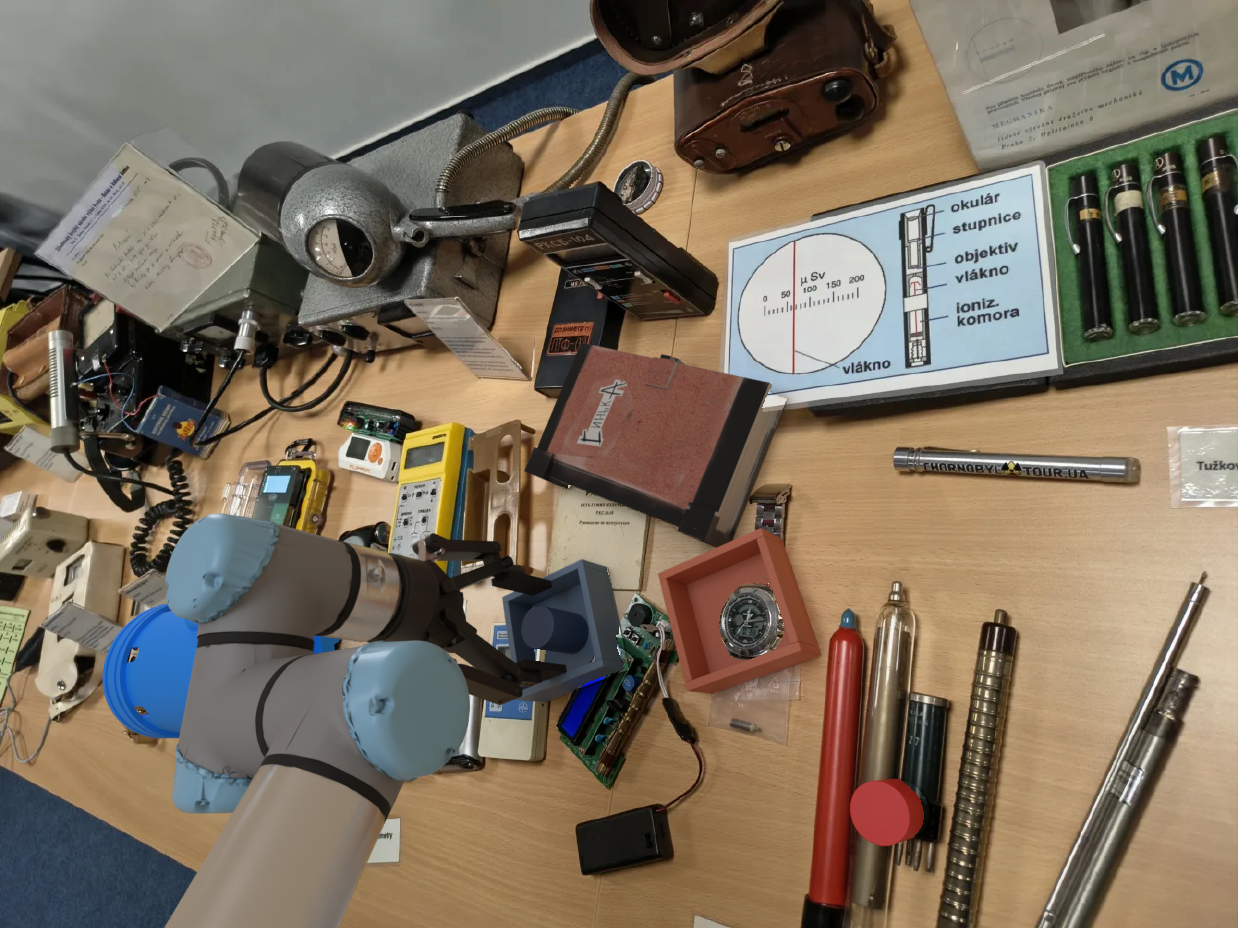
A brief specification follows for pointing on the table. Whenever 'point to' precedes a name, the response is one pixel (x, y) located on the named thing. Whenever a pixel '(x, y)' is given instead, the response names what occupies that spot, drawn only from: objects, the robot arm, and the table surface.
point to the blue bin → (578, 593)
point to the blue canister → (554, 630)
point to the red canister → (886, 812)
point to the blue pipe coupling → (157, 671)
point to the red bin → (705, 590)
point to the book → (658, 439)
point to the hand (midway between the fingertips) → (548, 629)
